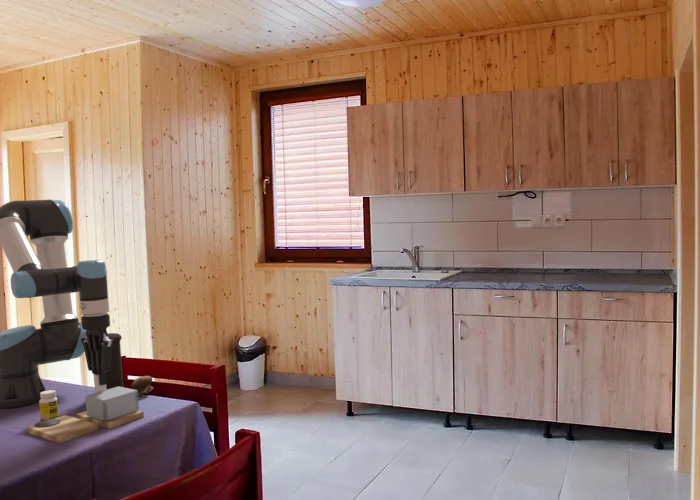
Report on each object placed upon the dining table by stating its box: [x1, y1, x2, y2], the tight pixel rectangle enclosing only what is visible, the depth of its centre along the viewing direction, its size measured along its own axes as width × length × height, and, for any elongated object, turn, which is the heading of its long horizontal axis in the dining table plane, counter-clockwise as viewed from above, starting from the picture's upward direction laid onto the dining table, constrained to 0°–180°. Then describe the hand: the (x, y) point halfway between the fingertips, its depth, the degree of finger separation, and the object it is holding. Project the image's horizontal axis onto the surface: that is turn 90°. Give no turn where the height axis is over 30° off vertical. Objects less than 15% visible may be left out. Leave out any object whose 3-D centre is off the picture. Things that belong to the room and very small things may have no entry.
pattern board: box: [75, 410, 145, 430], centre depth 179 cm, size 16×11×4 cm
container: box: [106, 332, 125, 390], centre depth 202 cm, size 9×9×20 cm
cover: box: [84, 386, 140, 421], centre depth 177 cm, size 9×11×6 cm
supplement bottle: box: [38, 389, 60, 421], centre depth 179 cm, size 5×5×8 cm
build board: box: [26, 415, 99, 444], centre depth 170 cm, size 17×11×2 cm, turn 54°
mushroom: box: [130, 375, 155, 396], centre depth 202 cm, size 8×8×6 cm
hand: (101, 395), depth 180 cm, fingers closed
